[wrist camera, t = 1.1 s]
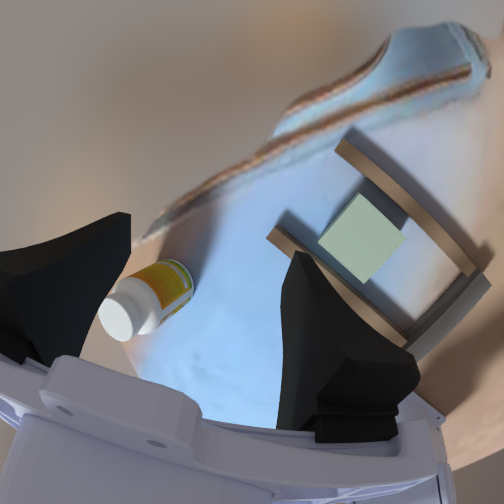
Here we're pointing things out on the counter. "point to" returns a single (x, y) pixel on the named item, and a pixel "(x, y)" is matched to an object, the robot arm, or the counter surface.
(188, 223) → the counter surface
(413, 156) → the counter surface
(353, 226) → the block
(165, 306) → the supplement bottle
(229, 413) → the counter surface
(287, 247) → the guide channel
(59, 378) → the robot arm
